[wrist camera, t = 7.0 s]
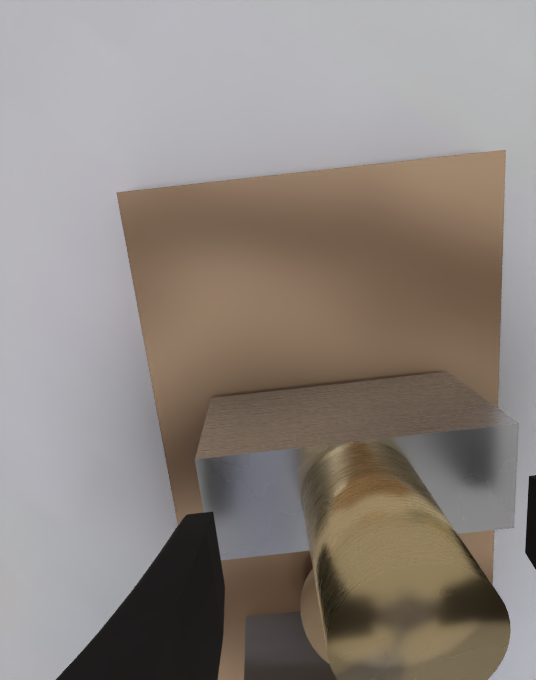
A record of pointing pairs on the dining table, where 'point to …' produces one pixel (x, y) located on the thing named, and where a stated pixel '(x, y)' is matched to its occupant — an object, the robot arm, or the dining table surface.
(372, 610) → the jaw
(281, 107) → the dining table surface
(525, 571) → the dining table surface
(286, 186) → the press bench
